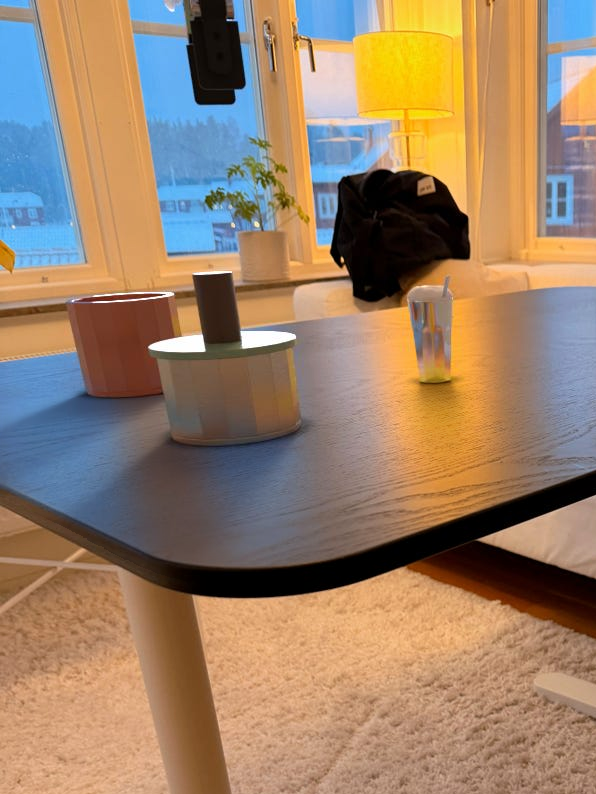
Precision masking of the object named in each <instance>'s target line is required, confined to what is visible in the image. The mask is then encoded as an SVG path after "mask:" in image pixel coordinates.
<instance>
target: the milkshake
mask: <svg viewBox="0 0 596 794" xmlns="http://www.w3.org/2000/svg"><path fill="white" fill-rule="evenodd" d="M450 278H451V276H450V275H446V276H445V280H444V285H429V284H428V285H427V284H423V285H416V286H413V288H411V289H410V290H409V291H408V293H407V295H406V300H407V301H406V302H407V306H408V313H409V319H410V325H411V328H412V334H413V342H414V349H415V356H416V362H417V370H418V371H417V372H418V377H419V378H418V379H419V382H420V383H425V384H437V383H438V384H439V383H445V382H449V381H451V380H452V379H451V377H452V327H453V310H454V309H453V308H454V307H453V306H454V294H453V292H452V291H451V290H450V289H449V283H450Z"/></svg>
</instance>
